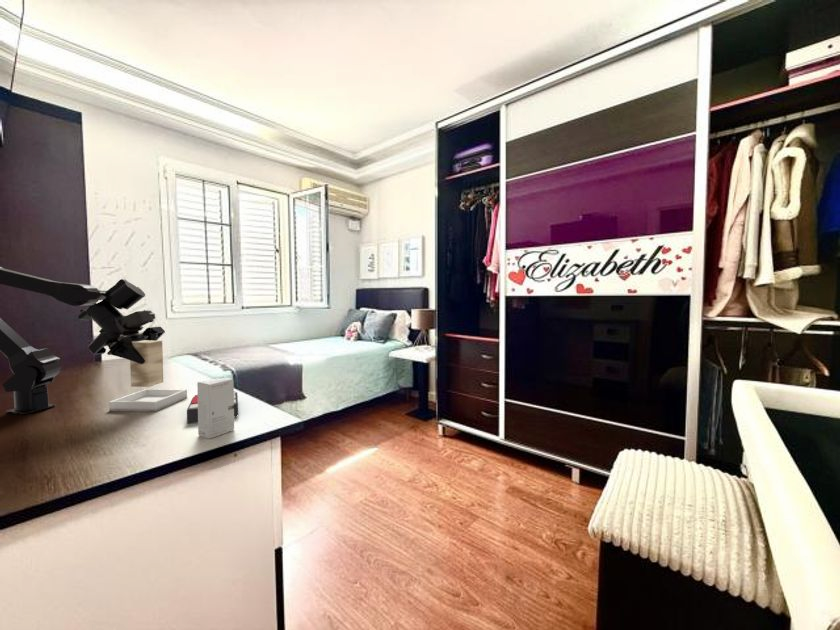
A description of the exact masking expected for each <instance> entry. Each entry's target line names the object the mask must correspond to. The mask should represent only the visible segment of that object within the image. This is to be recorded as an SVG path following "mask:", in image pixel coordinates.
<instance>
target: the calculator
mask: <svg viewBox="0 0 840 630" xmlns="http://www.w3.org/2000/svg"><path fill="white" fill-rule="evenodd" d="M238 397H239V396H238V392H237V391H235V390H234V416H237V415H238V416H239V401H238ZM190 400H191V401H190V403H189V405H188V408H186V424H188V425H189V424H196V423H197V424H198V394H195V395H194V396H193V397H192V399H190Z"/></svg>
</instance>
